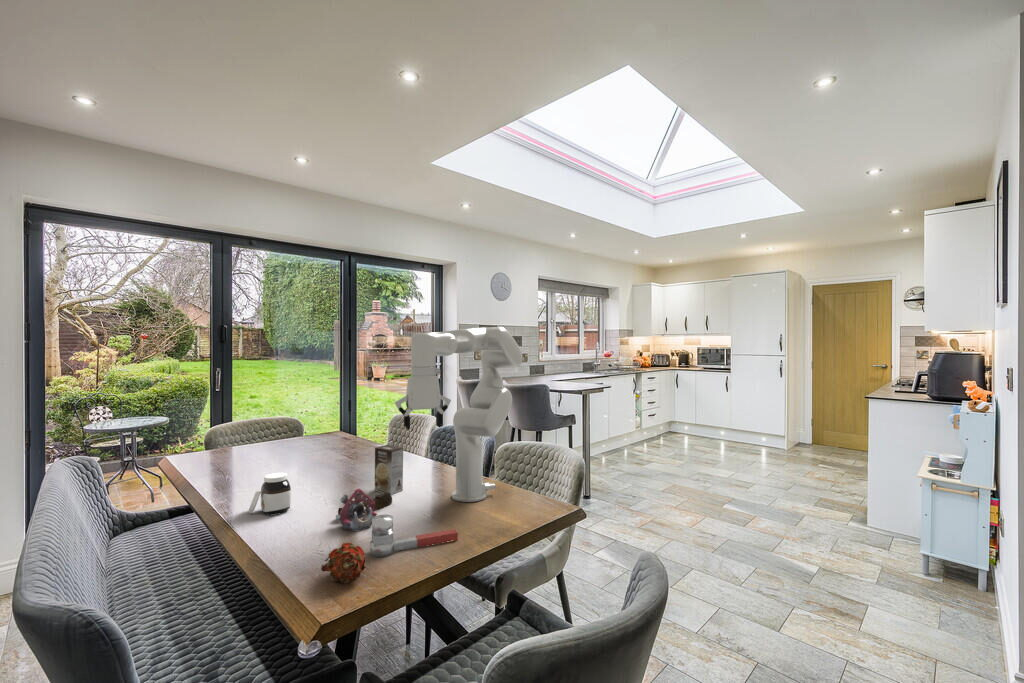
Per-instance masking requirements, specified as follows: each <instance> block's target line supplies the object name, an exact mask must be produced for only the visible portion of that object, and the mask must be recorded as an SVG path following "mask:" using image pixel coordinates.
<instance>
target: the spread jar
mask: <svg viewBox="0 0 1024 683" xmlns="http://www.w3.org/2000/svg"><path fill="white" fill-rule="evenodd" d="M288 478H289V477H288V473H287V472H273V473H269V474H265V475H264V476H263V483H262V485H261V488H260V491H259V490H256V491H255V494H254V495H253V498H252V500H251V503H250V505H249V508H248V512H247V513H248V514H254V512H253V511H255V509H256V507H257V504H258V501H259V499H260V508H261V511H262V512H261V513H262V514H264V515H266V514H268V515H267V516H272V515H271V514H276V515H280V514H279V513H281V514H284V513H286V512H287V511H289V509H291V502H292V491H291V490H292V489H291V483H290V481H289V480H288ZM285 511H286V512H285ZM283 512H284V513H283Z"/></svg>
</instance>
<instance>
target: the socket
mask: <svg viewBox="0 0 1024 683" xmlns="http://www.w3.org/2000/svg"><path fill="white" fill-rule="evenodd" d="M394 535H395V534H394V516H393V515H391V514H386V513H384V514H379V515H378V514H377V515H376V516H375V517H373V518H372V524H371V541H372V542H373V545H374V547H375V546H381V545H386V544H392V543H394V541H395V536H394Z"/></svg>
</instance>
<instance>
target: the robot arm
mask: <svg viewBox="0 0 1024 683" xmlns="http://www.w3.org/2000/svg"><path fill="white" fill-rule="evenodd" d="M410 341H411V344H410V349H411V350H410V351H411V355H410V357H411V359H410V362H411V364H410V365H411V366H410V371H411V372H410V376H408V378H407V382H406V383H407V384H406V394H405V396H403V397H401V398H400V399H398V400H396V401H395V402H394V404H395V406H396V408H397V410H398V411H399V412H400V414H402V415H403V426H404V427H405V429H406V430H408V431H409V430H410V429H411V416H410V414H411V412H413V410H414V411H416V410H418V411H419V410H431V409H432V410H433V409H435V411H436V412H437V413H436V414H435V419H436V420H435V426H437V428H441V426H442V424H443V414H444V412H446V411H447V409H448V408H449V406H450V404H451V401H452V400H451V399H450V398H448V397H447V396H444V395H442V394H441V389H440V382H439V376H437V374H438V373H439V374H440V373H441V368H439V367H437V363H436V362H437V361H436V360H437V357H449V356H451V355H453V354H468V353H474V352H481V351H482V352H481V357H480V360H481V365H482V366H481V367H482V368H481V369H482V377H481V379H480V381H479V382H478V383H477V386H476V387H475V389H474V390H473V391H472V394H471V396H470V398H469V405H470V406H469V407H461V408H459V409H458V410H456V412H455V413H454V415H453V420H452V422H453V423H452V424H453V430H454V436H455V490H454V491H452V493H451V498H452V500H454V501H456V502H460V501H461V502H463V503H473V502H480V501H482V500H485V499H486V498H487V496H488V492H487V491H488V490H491V491H492V490H495V489H497V488H496V484H495V483H490V482H486V483H485V482H483V479H484V477H483V475H484V474H483V473H484V472H483V468H484V466H483V464H484V460H483V459H484V456H483V455H484V454H483V453H484V448H483V443H482V439H481V438H480V437H485V438H491V437H495V436H497V435H498V433H499V431H500V430H501V429H502V427H503V424H504V423H505V421H506V418H507V417H508V415H509V413H510V411H511V408H512V405H513V396H512V393H511V390H509V389H508V388H507V387H503V383H504V381H503V376H502V375H501V373H500V371H499V369H500V368H501V369H502V368H503V369H505V368H506V369H516V368H518V367H520V366H521V364H522V363H523V352H522V349H521V348H520V346H519V345H518V344H519V343H517V341H516V340H515V338H514V337H513V336H512V335H511V333H510V332H509V331H508V330H507V329H506V328H504V327H503V326H492V327H491V326H489V327H488V326H487V327H486V326H485V327H471V328H462V329H453V330H448V331H447V330H446V331H436V332H416V333H413V334H412V335H411V339H410ZM441 401H444V403H443V405H442V406H441ZM403 403H405V407H406V408H405V409H404V408H403V406H402V404H403Z"/></svg>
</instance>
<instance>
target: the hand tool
mask: <svg viewBox="0 0 1024 683" xmlns="http://www.w3.org/2000/svg"><path fill="white" fill-rule="evenodd" d="M372 499H373V501H374V502H375V508H374V510H381V509H385V508H387V507H389V506H390V505H392V503H393V497H392V495H391V494H390V493H389V492H385V493H382V492H381V493H378V494H376V495H374V498H372ZM362 503H363V504H364V507H366V506H367V505H368V503H366V502H362ZM384 507H385V508H384ZM342 508H343V507H339V508H338V509H337V515H340V511H341V509H342Z"/></svg>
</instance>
